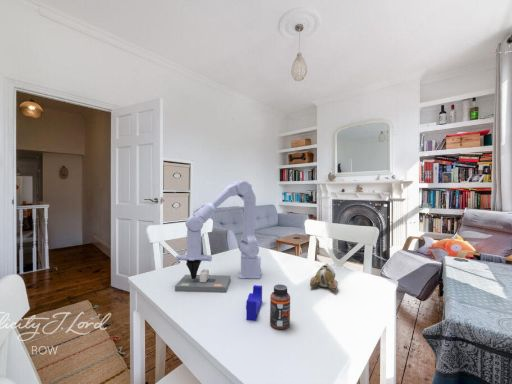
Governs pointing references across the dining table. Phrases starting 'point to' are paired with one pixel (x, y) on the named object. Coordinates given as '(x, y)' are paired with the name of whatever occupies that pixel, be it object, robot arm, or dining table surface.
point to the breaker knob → (204, 275)
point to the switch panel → (203, 284)
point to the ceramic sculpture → (324, 278)
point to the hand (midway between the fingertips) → (194, 277)
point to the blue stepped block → (254, 303)
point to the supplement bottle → (280, 307)
